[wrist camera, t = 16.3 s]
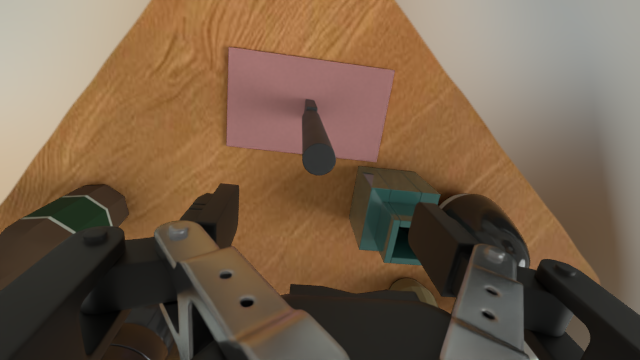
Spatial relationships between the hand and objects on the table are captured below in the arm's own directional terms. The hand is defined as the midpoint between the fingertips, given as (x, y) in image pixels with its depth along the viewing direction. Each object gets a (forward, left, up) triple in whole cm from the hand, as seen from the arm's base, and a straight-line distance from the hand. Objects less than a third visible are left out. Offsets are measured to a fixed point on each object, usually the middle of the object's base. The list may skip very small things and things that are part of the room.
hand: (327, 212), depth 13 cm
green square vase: (+13, -11, -31) cm, 35 cm away
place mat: (0, +1, -31) cm, 31 cm away
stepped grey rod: (0, +1, -30) cm, 30 cm away
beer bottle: (-29, -17, -31) cm, 46 cm away
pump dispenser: (+26, -13, -31) cm, 42 cm away
